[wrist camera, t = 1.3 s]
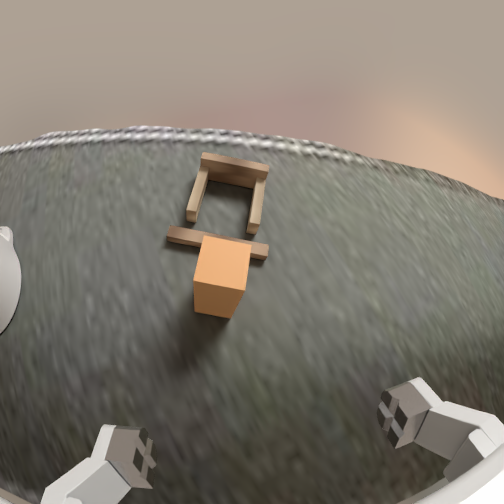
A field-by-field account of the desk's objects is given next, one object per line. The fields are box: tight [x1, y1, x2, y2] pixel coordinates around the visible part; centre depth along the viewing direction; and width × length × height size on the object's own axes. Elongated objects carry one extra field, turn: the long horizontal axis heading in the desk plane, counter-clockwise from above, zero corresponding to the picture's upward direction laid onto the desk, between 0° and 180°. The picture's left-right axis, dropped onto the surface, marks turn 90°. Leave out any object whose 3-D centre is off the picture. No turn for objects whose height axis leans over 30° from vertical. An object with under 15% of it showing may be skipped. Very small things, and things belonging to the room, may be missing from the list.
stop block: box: [193, 235, 252, 319], centre depth 27 cm, size 4×4×10 cm
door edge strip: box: [167, 225, 269, 260], centre depth 34 cm, size 12×2×1 cm, turn 82°
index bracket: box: [186, 152, 269, 235], centre depth 35 cm, size 9×8×4 cm
